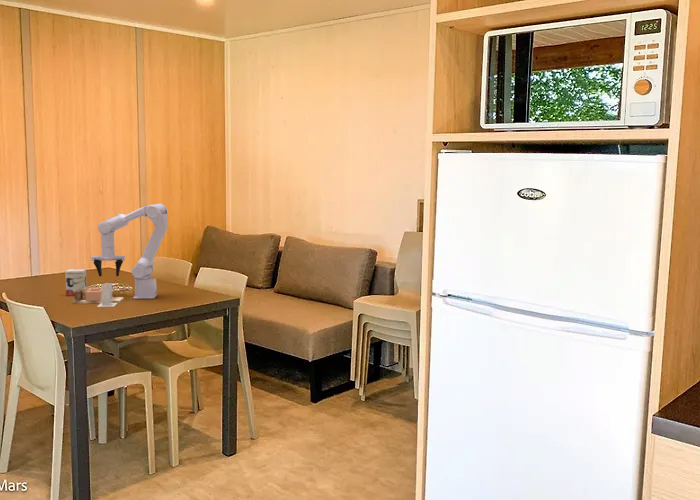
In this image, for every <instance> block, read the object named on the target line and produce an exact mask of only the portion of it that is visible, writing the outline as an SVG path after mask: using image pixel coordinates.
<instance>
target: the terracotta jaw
mask: <svg viewBox="0 0 700 500" xmlns="http://www.w3.org/2000/svg"><path fill="white" fill-rule="evenodd" d="M101 299H102V293H101V287H100V288H99V287H98V288H97V287H95V288H93V287H92V288H89V289H87V291H86V301H100V300H101Z"/></svg>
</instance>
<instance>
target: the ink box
mask: <svg viewBox="0 0 700 500" xmlns="http://www.w3.org/2000/svg"><path fill="white" fill-rule="evenodd" d="M64 274H65V276H64V277H65V296H66V297H75V295H74V292H75V291H77V290H78V289H82V288H87V289H88V287H87V285H88V283H87V269H85V268H83V269H82V268H80V269H79V268H75V269H74V268H72V269H70V268H69V269H66V270H65V271H64Z"/></svg>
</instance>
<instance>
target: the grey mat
mask: <svg viewBox="0 0 700 500" xmlns="http://www.w3.org/2000/svg"><path fill="white" fill-rule="evenodd" d="M118 304H119V303H113V304H112V305H107V306H102V303H98V305H97V306H96V308H115V307H116V305H118Z"/></svg>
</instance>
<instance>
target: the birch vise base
mask: <svg viewBox="0 0 700 500" xmlns="http://www.w3.org/2000/svg"><path fill="white" fill-rule="evenodd" d="M86 291H88V287H87V288H82V289H78V290H77V291H75V292H74V295H75V296H74V300H72V301H71V302H72V304H75V305H76V304H77V305H78V304H101V303H102V299H101V300H100V301H86ZM112 298H113V303H118V304H120V303H121V302H123V301H124V298H125V297H124V296H115V297H114V296H112Z"/></svg>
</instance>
